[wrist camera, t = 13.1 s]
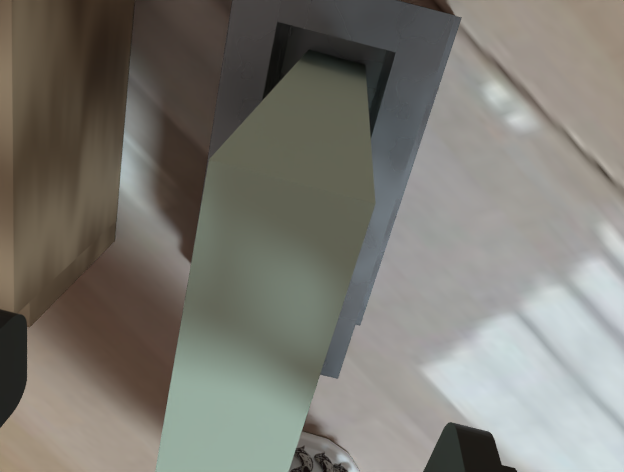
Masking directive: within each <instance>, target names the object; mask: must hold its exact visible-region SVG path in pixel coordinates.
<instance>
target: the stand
mask: <svg viewBox="0 0 624 472" xmlns="http://www.w3.org/2000/svg"><path fill="white" fill-rule="evenodd" d="M460 21H461V17H457V16H455V15H451V14H447V13H444V12H440V11H436V10H432V9H428V8H424V7H420V6H417V5H413V4H409V3H405V2H401V1H397V0H232V7H231V13H230V19H229V26H228V32H227V39H226V45H225V52H224V58H223V64H222V71H221V77H220V84H219V90H218V97H217V103H216V109H215V116H214V122H213V129H212V135H211V142H210V148H209V154H208V161H207V167H206V174H207V168H208V162H209V159H210V158H211V157H212V156H213V155H214V153H215V152H216V151H217V150H218V149H219V148H220V147H221V146H222V145H223V144H224V142H225V141H226V140H227V139H228V138H229V137H230V136H231V135H232V134H233V133H234V131H235V130H236V129H237V128H238V127H239V126H240V125H241V124H242V123H243V122H244V120H245V119H246V118H247V117H248V116H249V115H250V114H251V113H252V112H253V110H254V109H255V108H256V107H257V106H258V105H259V104H260V103H261V102H262V101H263V99H264V98H265V97H266V96H267V95H268V94H269V93H270V92H271V91H272V90H273V88H274V87H275V86H276V85H277V84H278V83H279V82H280V81H281V80H282V79H283V77H284V76H285V75H286V74H287V73H288V72H289V71H290V70H291V69H292V68H293V66H294V65H295V64H296V63H297V62H298V61H299V60H300V59H301V58H302V56H303V55H304V54H305V53H306V52H307V51H308V50H309V49H310V50H313V51H317V52H321V53H324V54H328V55H332V56H335V57H339V58H343V59H346V60H350V61H354V62H357V63H361V64H365V68H366V81H367V95H368V109H369V122H370V136H371V149H372V163H373V177H374V190H375V207H374V210H373V213H372V216H371V219H370V222H369V225H368V228H367V231H366V235H365V238H364V241H363V244H362V247H361V250H360V253H359V256H358V259H357V262H356V265H355V268H354V271H353V275H352V278H351V281H350V284H349V287H348V290H347V293H346V296H345V299H344V302H343V305H342V308H341V312H340V315H339V318H338V321H337V324H336V327H335V330H334V333H333V336H332V339H331V342H330V345H329V349H328V352H327V355H326V358H325V361H324V364H323V367H322V370H321V373H320V375H324V376H328V377H333V378H337V379H338V376H339V373H340V370H341V367H342V364H343V361H344V358H345V355H346V352H347V349H348V346H349V343H350V340H351V336H352V333H353V330H354V327H355V325H359V326H360V324H361V321H362V318H363V315H364V312H365V309H366V306H367V303H368V300H369V297H370V294H371V291H372V288H373V285H374V282H375V279H376V276H377V273H378V270H379V267H380V264H381V261H382V257H383V254H384V251H385V248H386V245H387V242H388V239H389V236H390V233H391V230H392V227H393V224H394V221H395V218H396V215H397V212H398V209H399V206H400V203H401V200H402V197H403V194H404V191H405V188H406V185H407V182H408V179H409V176H410V173H411V170H412V167H413V163H414V160H415V157H416V154H417V151H418V148H419V145H420V142H421V139H422V136H423V133H424V130H425V127H426V124H427V121H428V118H429V115H430V112H431V109H432V106H433V103H434V100H435V97H436V94H437V91H438V88H439V85H440V82H441V79H442V76H443V72H444V69H445V66H446V63H447V60H448V57H449V54H450V51H451V48H452V45H453V42H454V39H455V36H456V33H457V30H458V27H459V24H460ZM206 174H205V180H206ZM205 180H204V186H205ZM203 192H204V187H203ZM202 197H203V193H202ZM201 203H202V199H201ZM200 209H201V206H200ZM199 215H200V212H199ZM198 221H199V219H198ZM197 226H198V225H197Z"/></svg>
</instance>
